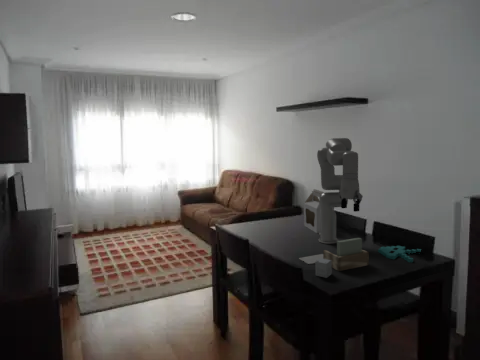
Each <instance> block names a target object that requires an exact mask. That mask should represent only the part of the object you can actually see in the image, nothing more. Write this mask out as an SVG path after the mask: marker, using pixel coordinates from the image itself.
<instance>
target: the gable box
mask: <svg viewBox="0 0 480 360" xmlns="http://www.w3.org/2000/svg"><path fill="white" fill-rule="evenodd" d="M322 193H325V192H324V191H322V190H319V189H315V188H314V189H313V190H311V193H310V194H309V196H308V198H307V199H306V200H305V201H304V203H303V210H304V211H303V212H304V214H303V218H304V219H303V225H304V226H303V227H306V228H308V229H309V230H310V231H312V232H314V233H315V234H319V233H321V207H320V200H319V197H320V195H321V194H322ZM332 209H333V210H334V211H335V207H333V208H332Z"/></svg>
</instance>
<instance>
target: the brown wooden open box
mask: <svg viewBox="0 0 480 360" xmlns="http://www.w3.org/2000/svg"><path fill="white" fill-rule="evenodd" d="M322 254H323V259H328V260H331V264H332V269H334V270H336V271H338V272H342V271H345V270H350V269H356V268H361V267H365V266H369V264H370V263H369V261H370V259H369V258H370V252H369V251H367V250H364V249H362V253H357V254H351V255H346V256H340V257H339V256H337V254H334V253H332V252H330V251H329V250H326V249H324V250H323V253H322Z"/></svg>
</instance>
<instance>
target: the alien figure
mask: <svg viewBox="0 0 480 360" xmlns="http://www.w3.org/2000/svg"><path fill="white" fill-rule="evenodd" d="M421 250H422V249H421V248H416V249H406V246H401V245H396V246H395V245H391V246H388V245H386V246H381V247H379V248H378V250H377V252H378V253H379V254H380V255H382V256H383V257H385V258H386V259H391V260H395V259H396V258H398V257H401V259H404V261H407V263H413V262H414V258H413V257H411V256H409V255H411V254H413V253H416V252H421ZM406 253H408V254H406ZM410 253H411V254H410ZM416 254H417V253H416Z"/></svg>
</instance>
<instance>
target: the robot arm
mask: <svg viewBox="0 0 480 360" xmlns="http://www.w3.org/2000/svg"><path fill="white" fill-rule="evenodd" d="M352 148H353V147H352V140H351V139H350V138H347V137H342V138H341V137H339V138H338V137H337V138H336V137H334V138H331V139H328V140H327V141H326V143H325V147H321V148H319V149H318V150H317V153H316V155H317V156H316V157H317V162H318V164H319V167H320V184H321V185H320V186H321V188H322V190H323V191H329V192H324V193H322V194H321V195H320V197H318V199H319V201H320V207H321V233H318V235H319V236H320V237H319V238H318V242H319V243H322V244H325V245H326V244H327V245H331V244H337V241H340V239H338V238H337V214H336V211H335V209H334V210H333V209H332V208H333V207H334V208H341V209H347V208H348V203H349V200H350V201H351V200H352V201H353V212H360V204H361V201H363V194H362V193H360V182H359V153H358V152H356V151H353V150H352ZM335 166H336V167H337V166H342V174H335V172H336V171H335ZM332 191H333V192H332Z"/></svg>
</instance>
